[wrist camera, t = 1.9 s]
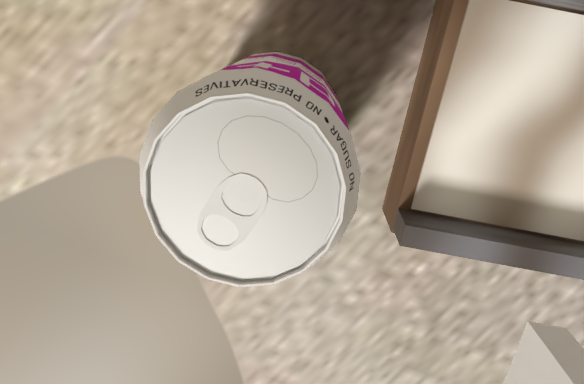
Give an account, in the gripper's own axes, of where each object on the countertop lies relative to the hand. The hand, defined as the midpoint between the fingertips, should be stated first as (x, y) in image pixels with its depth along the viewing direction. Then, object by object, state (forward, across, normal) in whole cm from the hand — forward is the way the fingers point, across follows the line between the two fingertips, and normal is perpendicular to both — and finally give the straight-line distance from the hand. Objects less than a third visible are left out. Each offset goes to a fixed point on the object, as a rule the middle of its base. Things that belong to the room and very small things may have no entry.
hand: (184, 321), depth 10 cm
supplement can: (+23, 0, 0) cm, 23 cm away
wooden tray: (+23, -16, -3) cm, 28 cm away
